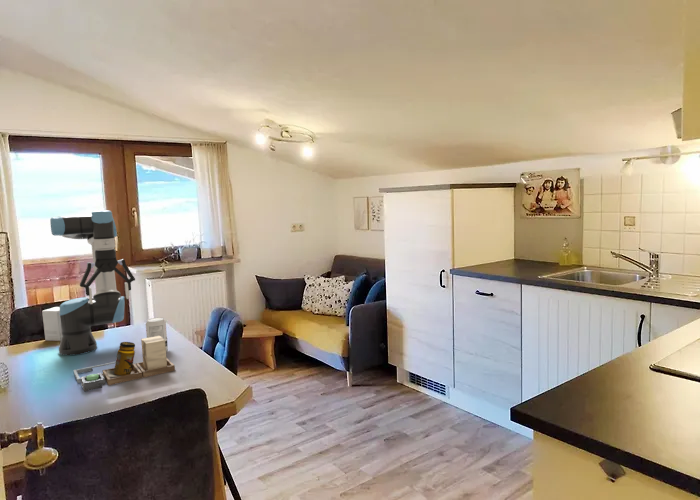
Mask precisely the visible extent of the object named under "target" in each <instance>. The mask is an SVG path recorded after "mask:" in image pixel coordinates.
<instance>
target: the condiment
mask: <svg viewBox="0 0 700 500" xmlns="http://www.w3.org/2000/svg"><path fill="white" fill-rule="evenodd" d="M135 348H136V344H135V343H134V342H131V341H122V342H120V343H119V347H118V349H117V353H116V358H115V362H116V363H114V364H115V365H114V368H115V369H114V371H110V370H106V369H105V370H106V371H107V374H108V376H109V377H111V376H112V377H114V376H115V377H120V376H125V375H129V374H131V370H132V365H133V364H134V358H135V353H136V352H135V351H136V350H135Z"/></svg>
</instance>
